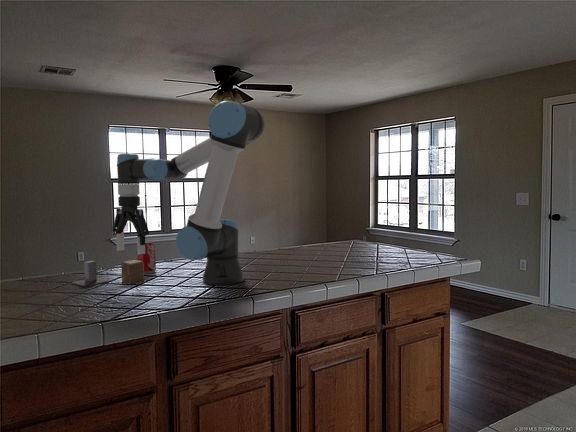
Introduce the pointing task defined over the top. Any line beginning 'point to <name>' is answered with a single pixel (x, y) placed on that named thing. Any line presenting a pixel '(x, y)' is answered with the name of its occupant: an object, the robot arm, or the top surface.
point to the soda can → (148, 258)
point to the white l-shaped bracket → (90, 276)
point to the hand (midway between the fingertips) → (130, 252)
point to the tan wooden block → (132, 271)
